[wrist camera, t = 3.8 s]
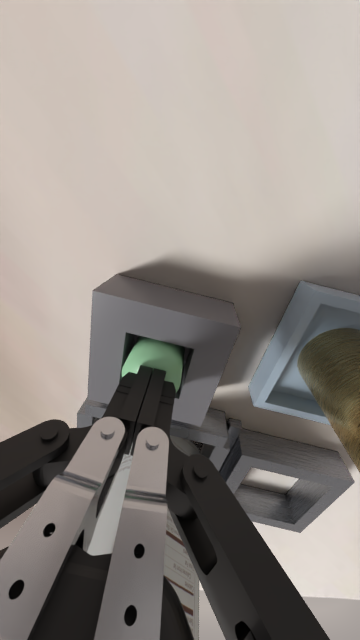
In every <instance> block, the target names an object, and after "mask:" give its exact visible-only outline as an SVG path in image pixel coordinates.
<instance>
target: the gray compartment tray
mask: <svg viewBox="0 0 360 640" xmlns="http://www.w3.org/2000/svg"><path fill="white" fill-rule="evenodd" d="M108 405H109V404H105V403H101V402H97V401H93V400H89V399H88V397H87V398H86V400H85V402H84V403H83V405H82V406H81V408H80V410H79V411H78V413H77V428H83V427H88V426H91V425H93V424H94V423H95V422H96V421H98V420H99V419H101V418H102V416H103V415H104V413H105V411H106V409H107V407H108ZM170 435H171V436H176V437H180V438H184V439H188V440H192V441H196V442H201V443H204V444H203V446H202V448H201V450H200V454H201V455H204V456H205V457H207V458H208V459H209V460H210V461H211V462H212V463H213V464H214V466H215V467H216V469H217V470H218V472H219V473H220V475H221V476H222V478H223V479H224V481H225V482H226V484H227V485H228V487H229V488H230V490H231V491H232V493H233V494H234V496H235V497H236V499H237V500H238V502H239V503H240V505H241V506H242V508H243V509H244V511H245V512H246V514H247V515H248V517H249V519H250V520H251V521H253V522H257V523H261V524H265V525H270V526H274V527H278V528H282V529H287V530H291V531H295V532H299V533H301V532H302V531H303V530H304V529H305V528H306V527H307V526H308V525H309V524H310V523H311V522H312V521H314V520H315V519H316V518H317V517H318V516H319V515H320V514H321V513H322V512H323V511H324V510H325V509H326V508H328V507H329V506H330V505H331V504H332V503H333V502H334V501H335V500H336V499H337V498H338V497H339V496H340V495H342V494H343V493H344V492H345V491H346V490H347V489H348V488H349V487H350V486H351V485H352V484H353V483H354V480H353V478H352V476H351V474H350V473H349V471H348V469H347V467H346V466H345V464H344V462H343V460H342V459H341V457H340V455H339V453H338V452H336V451H332V450H328V449H324V448H320V447H316V446H311V445H307V444H303V443H299V442H295V441H291V440H287V439H283V438H278V437H274V436H270V435H266V434H262V433H258V432H254V431H249V430H245V429H242V426H241V421H239V420H235V419H231V418H230V419H229V421H228V423H227V422H226V419H225V412H223V411H219V410H215V409H211V408H208V410H207V413H206V415H205V418H204V420H203V423H202V425H201V426H197V425H192V424H188V423H184V422H180V421H176V420H172V419H171V426H170ZM251 467H253V468H257V469H261V470H266V471H270V472H274V473H278V474H282V475H286V476H291V477H295V478H299V480H298V481H297V482H296V483H295V484H294V486H293V487H292V488H291V489H290V490H289V491H288V493H287V494H286V495H284V494H279V493H275V492H271V491H267V490H263V489H258V488H254V487H250V486H246V485H242V484H241V482H242V480H243V479H244V477H245V476H246V474H247V473H248V471H249V470H250V468H251Z"/></svg>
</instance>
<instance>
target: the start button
mask: <svg viewBox="0 0 360 640" xmlns="http://www.w3.org/2000/svg"><path fill="white" fill-rule="evenodd" d="M184 354H185V347H184V346H180V345H176V344H172V343H168V342H163V341H159V340H155V339H151V338H147V337H143V336H139V337H138V339H137V341H136V343H135V345H134V347H133V349H132V350H131V352H130V354H129V356H128V358H127V360H126V362H125V364H124V366H123V368H122V377H123V376H124V375H126V374H127V373H128V372H132V373H136V374H137V372H138V370H139V367H140V365H143V366H147V367H151V368H153V370H154V368H155V369H159V370H164V371H166V375H165V381H169V382H173V383H174V386H175V389H176V392H177V391H178V389H179V387H180V384H181V377H182V369H183V362H184ZM152 373H153V372H152Z"/></svg>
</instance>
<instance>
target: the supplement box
mask: <svg viewBox="0 0 360 640" xmlns="http://www.w3.org/2000/svg"><path fill="white" fill-rule="evenodd" d="M170 439H171V441H172V443H173V445H174V446H175V447H176V448H177V449H178V450H180V451H181V452H183V453H184V454H186V455H188V456H190V455H193V454H200V450H199V449H198V447H197V446H196V445H195V444H194V443H193V442H191V441H190V440H188V439H184V438H180V437H176V436H171V435H170ZM132 444H133V443H132ZM131 449H132V446H131ZM131 449H130V453H129V455H127V454H124V455H123V458H122V461H121V465H120V467H119V469H118V472H117V475H116V477H115V480H114V482H113V485H112V487H111V489H110V492H109V494H108V497H107V499H106V502H105V504H104V507H103V509H102V511H101V514H100V516H99V519H98V522H97V524H96V527H95V531H94V534H93V537H92V540H91V543H90V546H89V548H88V551H87V553H88V554H90V555H93V556H94V555H103V554H110V553H112V552H113V547H114V543H115V538H116V533H117V529H118V524H119V519H120V514H121V510H122V505H123V500H124V496H125V491H126V486H127V482H128V477H129V472H130V468H131V463H132V458H133V456H131V455H130V454H131ZM164 576H165V577H166V578H167V580H168V581H169V582H170V584H171V585H172V587H173V588H174V590H175V591H176V593H177V595H178V597H179V599H180V601H181V604H182V606H183V609H184V611H185V614H186V617H187V620H188V623H189V626H190V629H191V632H192V634H193V637H194V640H199V578H198V576H197V573H196V571H195V569H194V567H193V564H192V562H191V560H190V558H189V555H188V553H187V551H186V549H185V546H184V544H183V542H182V540H181V537H180V535H179V533H178V531H177V528H176V526H175V524H174V522H173V519H172V517H171V515H170V511H169V509H168V508H167V525H166V541H165V558H164Z"/></svg>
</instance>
